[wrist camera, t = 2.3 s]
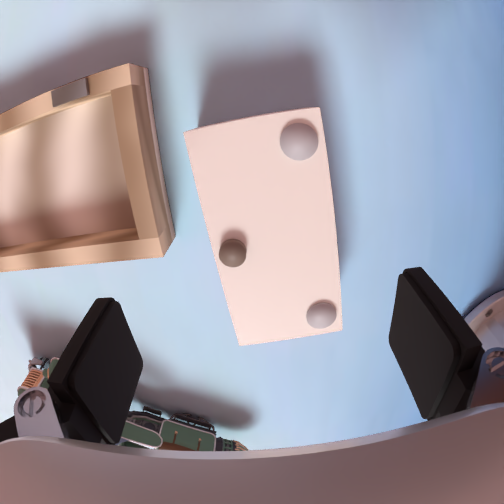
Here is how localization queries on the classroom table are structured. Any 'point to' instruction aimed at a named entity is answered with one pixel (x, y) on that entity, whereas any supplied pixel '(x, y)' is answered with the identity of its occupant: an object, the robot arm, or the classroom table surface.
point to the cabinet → (83, 175)
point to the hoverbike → (149, 423)
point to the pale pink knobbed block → (271, 222)
